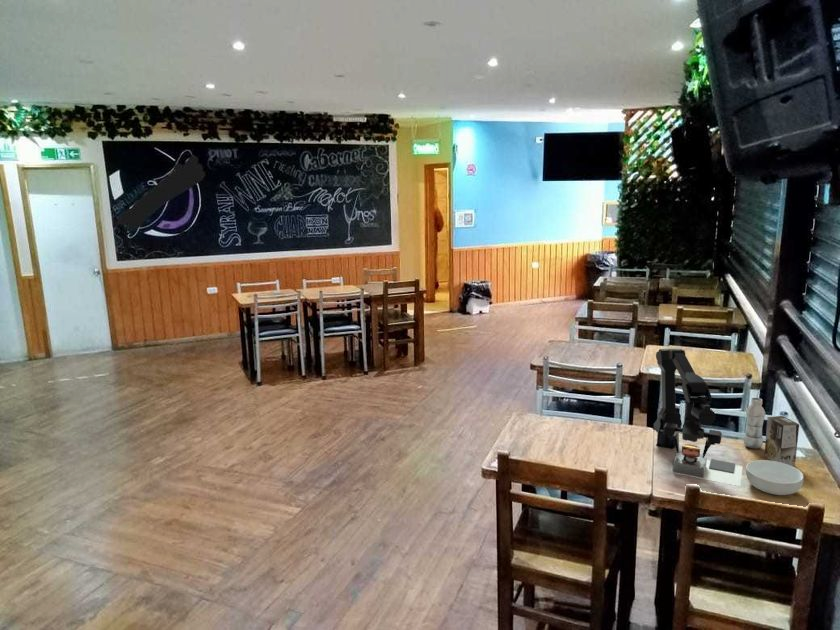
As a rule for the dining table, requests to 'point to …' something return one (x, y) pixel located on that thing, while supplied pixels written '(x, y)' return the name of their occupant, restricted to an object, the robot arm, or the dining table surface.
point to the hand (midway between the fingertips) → (690, 455)
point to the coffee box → (781, 440)
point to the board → (722, 475)
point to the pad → (722, 466)
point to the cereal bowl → (774, 477)
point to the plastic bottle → (754, 424)
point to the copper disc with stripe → (690, 452)
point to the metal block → (689, 465)
